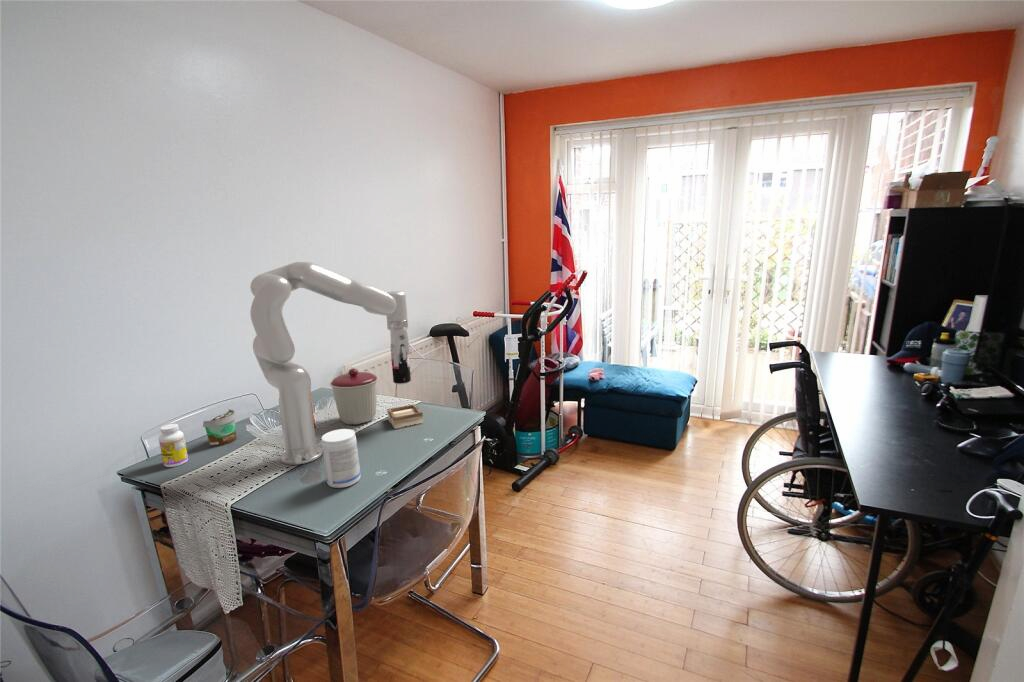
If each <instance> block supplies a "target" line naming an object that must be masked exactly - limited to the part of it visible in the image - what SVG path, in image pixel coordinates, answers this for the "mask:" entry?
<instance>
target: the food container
mask: <svg viewBox="0 0 1024 682" xmlns="http://www.w3.org/2000/svg"><path fill="white" fill-rule="evenodd" d="M237 418H238V415H237V413H236V411H234V410H233V409H229V408H228V412H225V413H224V414H220V415H217V416H215V417H214V418H212V419H211V420H204V421H203V423H202V426H203V428H205V431H206V435H207V436H206V437H207V439H208V443H209V446H210V447H211V446H216V447H221V445H222V446H226V445H229V444H231V443H233V442H235V441H236V440H237V431H236V430H237V429H236V427H237V426H236V425H237V424H236V419H237ZM225 444H226V445H225Z"/></svg>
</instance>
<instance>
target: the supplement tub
mask: <svg viewBox="0 0 1024 682" xmlns="http://www.w3.org/2000/svg"><path fill="white" fill-rule="evenodd" d="M356 436H357V435H356V432H355V430H353V429H349V428H340V429H334V430H330V431H328V432H326V433H325V434H322V436H321V438H320V439H321V448H322V456H323V463H324V464H323V465H324V470H325V479H326V483H327V485H328V486H329V487H331V488H336V489H341V488H342V489H343V488H347V487H348V488H349V487H351V486H353V485H354V484H356V483H357V482H358V481H359V480H360V479H361V476H362V475H361V467H360V466H361V465H360V459H359V450H358V444H357V443H358V442H357V437H356Z"/></svg>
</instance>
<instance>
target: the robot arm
mask: <svg viewBox="0 0 1024 682" xmlns="http://www.w3.org/2000/svg"><path fill="white" fill-rule="evenodd" d="M249 287H250V292H251V293H252V295H253V296H254V298H253V301H252V303H251V307H250V319H251V323H252V326H253V328H254V331H255V334H256V335H255V337H254V338H253V341H252V350H253V353H254V355H255V358H256V361H257V363H258V366H259V367H260V369H261V372H262V374H263V376H264V378H265V380H266V382H267V383H268V384H269V385H270V386H272V387H273V388H275V389H276V390H277V391H278V411H279V412H278V413H279V417H280V425H281V429H282V430H281V431H282V438H283V439H282V440H283V444H284V451H285V452H283V453H282V454H281V455H280V456H281V457H280V460H281V463H283V464H285V465H290V466H291V465H292V466H293V465H294V466H297V465H302V464H308V463H311V462H314V461H315V460H317V459H318V458H320V457H321V456H323V451H322V446H319V445H317V439H316V431H315V422H314V415H313V408H312V399H311V398H312V397H311V396H312V395H311V389H312V387H311V386H312V381H311V376H310V374H309V372H308V370H307V369H306V368H304V367H303V366H302V365H299V364H297V363H294V362H293V361H292V359H293V358H294V355H295V353H296V347H295V344H294V342H293V340H292V337H291V335H290V332H289V330H288V327H287V325H286V322H285V319H284V316H283V308H284V306H285V303H286V302H287V300H288V299H289V298H290V296H291V294H292V292H294V291H295V290H298V289H304V290H305V289H306V290H308V291H311V292H313V293H315V294H319V295H322V296H323V297H326V298H329V299H332V300H334V301H337V302H340V303H343V304H347V305H354V306H357V307H361V308H363V309H364V311H366V312H367V313H369V314H373V315H379V316H386V326H387V328H386V329H387V330H388V331H389V332H390V345H391V344H392V345H393V346H394V348H395V352H396V355H397V356H398V358H399V373H400V374H402V373H408V365H407V355H409V356H410V354H411V350H410V344H409V343H410V342H409V336H408V328H409V323H408V321H409V320H408V310H407V309H408V307H407V299H406V298H407V295H406V293H405V292H404V291H401V290H394V291H388V292H384V291H383V290H380V289H377V288H376V287H373V286H370V285H367V284H365V283H362V282H359V281H357V280H354V279H353V278H350V277H346V276H344V275H342V274H340V273H337V272H336V271H335V272H334V271H332V270H330V269H327V268H326V267H323V266H321V265H320V264H319V265H318V264H316V263H313V262H309V261H296V262H292V263H288V264H287V265H282V266H281V267H277V268H275V269H272V270H269V271H266V272H262V273H260V274H258V275H256V276H255V277H254V278H253V279H252V280H251V282H250V286H249ZM399 353H402V355H400V354H399ZM406 353H407V355H406Z"/></svg>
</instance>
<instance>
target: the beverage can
mask: <svg viewBox="0 0 1024 682" xmlns="http://www.w3.org/2000/svg"><path fill="white" fill-rule="evenodd" d="M399 354H400V355H402V353H399ZM406 355H407V353H406ZM390 357H391V370H392V382H393V384H396V385H405V384H406V385H407V384H409V383H410V382H411V379H412V377H411V365H410V363H411V362H410V354H409V355H407V365H408V373H402V374H400V373H399V358H398V356H397V355H396V352H395V348H394V346H393V345H392V344H391V343H390Z"/></svg>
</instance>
